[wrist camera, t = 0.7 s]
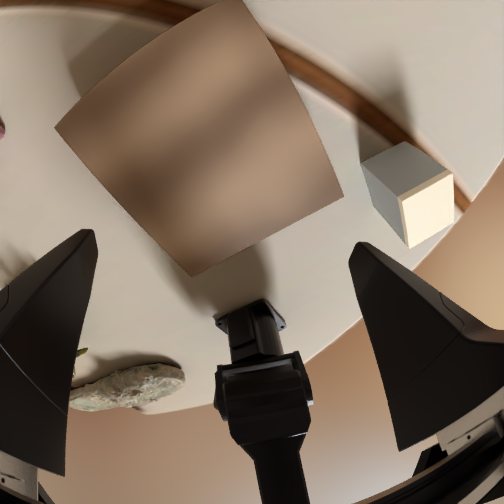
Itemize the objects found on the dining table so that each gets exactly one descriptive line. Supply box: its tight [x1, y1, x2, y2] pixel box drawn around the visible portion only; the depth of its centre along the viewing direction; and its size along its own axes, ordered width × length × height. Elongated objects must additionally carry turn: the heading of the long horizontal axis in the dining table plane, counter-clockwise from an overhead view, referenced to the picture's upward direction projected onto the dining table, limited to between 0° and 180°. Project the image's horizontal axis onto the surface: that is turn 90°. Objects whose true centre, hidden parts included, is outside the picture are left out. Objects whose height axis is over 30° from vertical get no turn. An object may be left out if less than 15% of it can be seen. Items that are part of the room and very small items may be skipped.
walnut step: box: [54, 0, 344, 277], centre depth 16 cm, size 14×12×5 cm
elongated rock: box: [69, 363, 185, 411], centre depth 40 cm, size 35×5×10 cm
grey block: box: [360, 141, 454, 249], centre depth 20 cm, size 5×5×6 cm
